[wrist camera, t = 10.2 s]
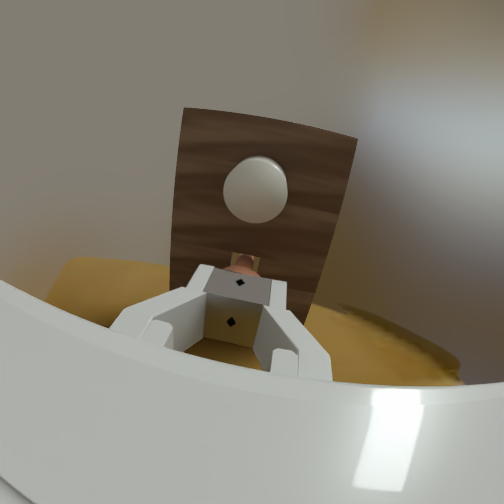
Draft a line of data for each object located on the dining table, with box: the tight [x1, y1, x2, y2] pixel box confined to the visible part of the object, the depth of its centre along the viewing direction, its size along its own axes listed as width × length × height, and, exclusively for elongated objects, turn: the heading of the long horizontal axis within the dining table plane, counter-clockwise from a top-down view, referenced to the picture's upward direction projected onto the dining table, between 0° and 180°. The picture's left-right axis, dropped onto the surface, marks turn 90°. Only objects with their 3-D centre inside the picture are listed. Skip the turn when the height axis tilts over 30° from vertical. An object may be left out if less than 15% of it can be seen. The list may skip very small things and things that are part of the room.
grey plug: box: [223, 156, 288, 223], centre depth 26 cm, size 10×5×5 cm, turn 175°
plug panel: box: [170, 108, 358, 326], centre depth 29 cm, size 6×16×24 cm, turn 85°
